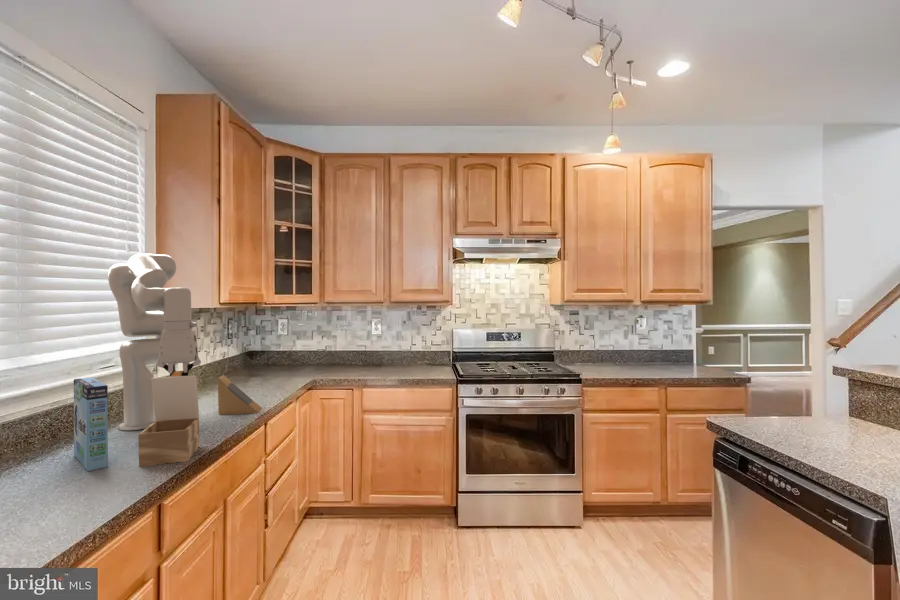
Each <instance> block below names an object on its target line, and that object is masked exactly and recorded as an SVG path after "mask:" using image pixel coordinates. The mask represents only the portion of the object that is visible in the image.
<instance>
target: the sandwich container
mask: <svg viewBox="0 0 900 600" xmlns="http://www.w3.org/2000/svg"><path fill="white" fill-rule="evenodd" d="M217 400H218V402H217V403H218V405H217V406H218V408H217V409H218V410H217V411H218V416H224V415H223V414H229V415H240V414H241V415H243V414H257V413H258V414H259V413H260V412H261V411H262V409H263V407H262V406H260V405H259V404H258V403H257V402H256V401H254V400H253V399H252V398H251V397H250V396H249V395H247V394H246V393H245V392H244V391H243V390H241V388H240V387H238V386H237V385H236V384H235V383H234V382H232V380H230V378H228V377H227V376H226V375H224V374H222V375H221V376H219V377H217Z"/></svg>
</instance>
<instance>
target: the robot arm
mask: <svg viewBox="0 0 900 600" xmlns="http://www.w3.org/2000/svg"><path fill="white" fill-rule="evenodd" d="M176 272H177V263H176V261H175V260H174V258H173V257H172V256H170V255H168V254H160V253H159V254H155V253H137V254H134V255H132V256H131V257H130V258H129V259H128V261H127V263H125V262H124V263H116V264H113V265H112V266H110V267H109V269H108V273H107V281H108V285H109V287H110V291H111V293H112V295H113V296H114V299H115V300H116V303H117V309H118V318H119V323H120V330H121V332H122V334H123V335H124V336H125V337H127V338H138V339H131V340H127V341H124V342H123V343H122V344H121V345H120V346H119V349H118V350H119V353H118V354H119V358H120V363H121V369H122V387H123V388H122V390H123V391H122V392H123V422H122V423H120V424H119V425H118V429H119V431H139V430H144V429H146V428H147V427H148V426H150V425H151V424H152V423H154V422H155V411H154V402H153V392H152V382H151V378H153V377H155V375H154V373H153V372H152V371H151V370H150V369H148V367H147V366H151V365H155V366H156V367H159V368H162V369H164V370H165V371H167V372H168V374H169V377H171V375H172V374H173V373H174V371H177V370H176V364H182V374H181V376H189V372H190V371H191V370H192V368H194V367H196V366H198V365H200V364H201V363H202V361H201V359H200V357H199V347H198V346H199V345H198V338H197V333H196V331H195V329H194V328H196V327H197V324H198V323H197V322H194V321H193V320H192V292H191V289H189V288H187V287H165V286H166V284H167V282H169V280H171V279H172V278H174V276H175V275H176ZM193 329H194V330H193ZM143 337H155V338H143ZM139 338H140V339H139Z"/></svg>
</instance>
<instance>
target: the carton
mask: <svg viewBox="0 0 900 600" xmlns="http://www.w3.org/2000/svg"><path fill="white" fill-rule="evenodd" d="M137 437H138V467H145V466H146V467H147V466H148V465H149V466H156V464H159V465H166V464H165V463H169V464H176V462H180V463H187V462H188V461H189V460H190V459H191V458H192V457H193V455H194V454H195V453H196V451H197V450H198V449H199V448H200V417H199V418H192V419H178V420H165V421H155V422H154V423H152V424H151V425H150V426H148V427H147V428H146V429H142V431H140V432H139V433H138V435H137ZM198 447H199V448H198ZM194 452H195V453H194ZM190 457H191V458H190ZM186 461H187V462H186Z"/></svg>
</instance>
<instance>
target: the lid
mask: <svg viewBox="0 0 900 600" xmlns="http://www.w3.org/2000/svg"><path fill="white" fill-rule="evenodd" d="M182 373H183V370H176V371H174V373H173V374H172V375H171V377H170V376H156V377H155V376H154V377H153V378H151V382H152V392H153V402H154V411H155V421H165V420H178V419H192V418H199V419H200V409H199V407H200V406H199V396H198V395H199V394H198V393H199V392H198V384H197V383H198V382H197V374H196V375H194V374H193V375H188V376H181V374H182Z"/></svg>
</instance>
